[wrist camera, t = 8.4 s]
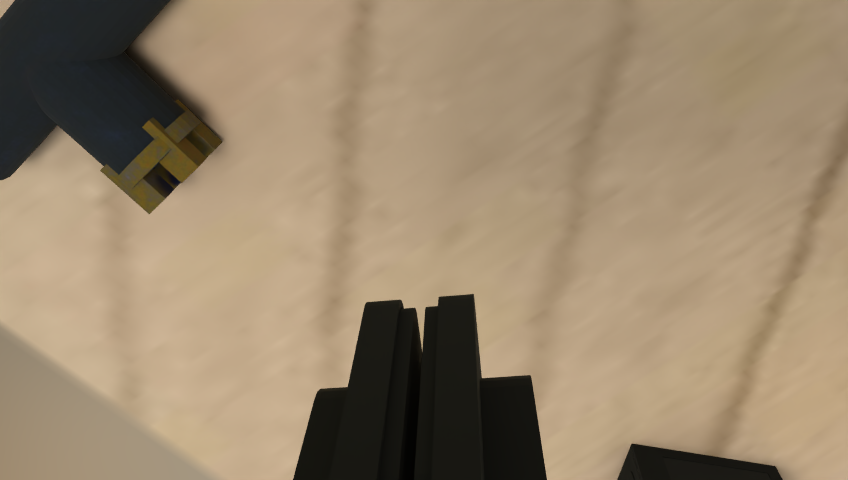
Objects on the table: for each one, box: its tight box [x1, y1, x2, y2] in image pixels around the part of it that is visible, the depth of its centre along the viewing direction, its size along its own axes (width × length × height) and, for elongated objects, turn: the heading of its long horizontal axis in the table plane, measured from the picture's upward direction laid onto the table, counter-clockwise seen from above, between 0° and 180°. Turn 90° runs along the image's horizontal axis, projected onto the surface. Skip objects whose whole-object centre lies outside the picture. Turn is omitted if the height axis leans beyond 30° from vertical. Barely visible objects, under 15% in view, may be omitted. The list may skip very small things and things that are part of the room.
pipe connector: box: [0, 0, 222, 214], centre depth 37 cm, size 12×5×15 cm
